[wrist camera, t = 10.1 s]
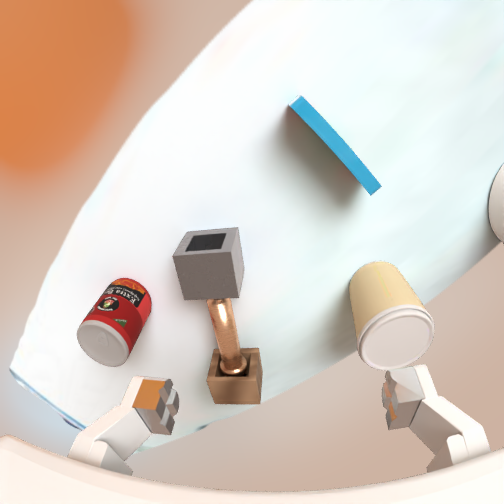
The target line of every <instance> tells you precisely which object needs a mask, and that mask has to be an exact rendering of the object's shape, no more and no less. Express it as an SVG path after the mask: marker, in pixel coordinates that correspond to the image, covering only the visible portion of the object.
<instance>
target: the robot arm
mask: <svg viewBox="0 0 504 504" xmlns="http://www.w3.org/2000/svg"><path fill="white" fill-rule="evenodd" d="M489 219H490V224H491V227H492V229H493V231H494V233H495V235H496V236H497V237H498V238H499V239H500V240H501V241H502V242H503V244H504V164H503V166H502V167H501V168H500V170H499V172H498V173H497V175H496V178H495V180H494V182H493V185H492V189H491V193H490V198H489ZM385 378H386V382H385V383H384V384H383V388H382V402H383V407H385V408H386V409H387V413H386V420H387V425H388V430H391V429H398V428H405V427H409V428H410V429H411V430H412V431H413V432H414V433H415V434H416V435H417V436H418V437H419V439H420V440H422V442H423V443H424V444H425V445H426V446H427V447H428V448H429V449H430V450H431V451H432V452H433V453H434V454H435V455H436V456H435V457H434V459H433V460H432V461H431V463H430V464H429V465H428V467H427V473H424V474H420V475H416V476H412V477H407V478H402V479H398V480H392V481H387V482H382V483H376V484H369V485H363V486H355V487H347V488H338V489H327V490H314V491H292V492H257V491H233V490H219V489H208V488H200V487H191V486H184V485H177V484H171V483H165V482H159V481H154V480H149V479H143V478H139V477H134V476H132V473H133V471H132V469H131V468H130V467H129V466H128V465H127V464H126V463H125V462H124V461H125V460H126V459H127V458H128V457H129V456H131V455H132V454H133V453H134V452H135V451H136V450H137V449H138V448H139V447H140V446H141V445H142V444H143V443H144V442H145V441H146V440H147V439H148V438H149V437H150V436H151V435H152V433H155V434H165V435H171V433H172V430H173V426H174V423H175V421H174V419H173V416H174V415H176V414H177V412H178V409H179V397H178V394H177V392H176V391H175V390H174V389H172V386H173V383H172V381H171V379H165V378H154V377H144V376H134V377H133V378H132V379H131V382H130V384H129V386H128V388H127V391H126V393H125V395H124V397H123V400H122V402H121V404H120V406H116V407H114V408H113V409H112V410H110V411H109V412H107V413H106V414H105V415H103V416H102V417H101V418H99V419H98V420H97V421H95V422H94V423H92V424H91V425H90V426H88V427H87V428H86V429H84V430H83V431H81V432H80V433H79V434H78V435H77V437H76V439H75V441H74V443H73V445H72V448H71V450H70V452H69V454H68V457H64V456H61V455H58V454H56V453H53V452H50V451H48V450H45V449H43V448H40V447H38V446H35V445H33V444H30V443H28V442H26V441H24V440H21V439H19V438H17V437H15V436H12V435H4V436H2V437H0V504H504V447H503V448H501V449H498V450H496V451H493V452H491V450H490V447H489V444H488V441H487V438H486V435H485V432H484V430H483V427H482V426H481V425H480V424H479V423H477V422H476V421H475V420H473V419H472V418H471V417H469V416H468V415H467V414H465V413H464V412H463V411H461V410H460V409H459V408H457V407H456V406H454V405H453V404H452V403H451V402H449V401H448V400H447V399H445V398H444V397H443V396H438V394H437V392H436V389H435V386H434V384H433V381H432V379H431V376H430V373H429V371H428V368H427V366H426V365H425V364H422V365H416V366H409V367H403V368H397V369H390V370H387V372H386V375H385Z"/></svg>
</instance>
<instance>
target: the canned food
mask: <svg viewBox="0 0 504 504" xmlns="http://www.w3.org/2000/svg"><path fill="white" fill-rule="evenodd" d="M150 312H151V298H150V295H149V293H148V292H147V290H146V289H145V288H144V287H143V286H142V285H141V284H140V283H138V282H137V281H135V280H132V279H129V278H120V279H117V280H115V281H114V282H112V283H111V284H110V285H109V286H108V287H107V289H106V290H105V291H104V293H103V294H102V295H101V297H100V298H99V299H98V301H97V302H96V303H95V305H94V306H93V308H92V309H91V310H90V312H89V313H88V314H87V316H86V317H85V319H84V320H83V322H82V323H81V325H80V326H79V328H78V331H77V339H78V342H79V344H80V346H81V348H82V349H83V350H84V352H85V353H86V354H87V355H88V356H90V357H91V358H92V359H94V360H95V361H97V362H99V363H100V364H103V365H106V366H111V367H116V366H120V365H122V364H124V363H125V361H126V360H127V358H128V357H129V355H130V353H131V351H132V349H133V347H134V345H135V343H136V341H137V338H138V336H139V334H140V332H141V330H142V328H143V326H144V324H145V322H146V320H147V318H148V316H149V314H150Z"/></svg>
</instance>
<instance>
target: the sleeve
mask: <svg viewBox="0 0 504 504" xmlns="http://www.w3.org/2000/svg"><path fill="white" fill-rule="evenodd" d="M173 259H174V263H175V267H176V271H177V274H178V278H179V282H180V285H181V289H182V293H183V296H184V300H200V299H225V298H239V295H240V290H241V285H242V279H243V274H244V263H243V257H242V250H241V243H240V237H239V230H238V227H236V228H224V229H213V230H201V231H190V232H187V233H186V234H185V236H184V238H183V239H182V241H181V243H180V244H179V246H178V248H177V249H176V251H175V253H174V254H173Z"/></svg>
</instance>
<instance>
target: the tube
mask: <svg viewBox="0 0 504 504" xmlns="http://www.w3.org/2000/svg"><path fill="white" fill-rule="evenodd" d="M207 304H208V308H209V312H210V316H211V320H212V324H213V328H214V332H215V336H216V339H217V343H218V347H219V351H220V354H221V358H222V360H221V362H220V367H221V371H222V372H223V373H224V374H225V375H226V376H227V377H246V373H245V370H246V369H247V362H246V359H245V357H244V356H242V354H241V349H240V345H239V340H238V335H237V330H236V325H235V320H234V315H233V310H232V305H231V300H230V298H225V299H207Z"/></svg>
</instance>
